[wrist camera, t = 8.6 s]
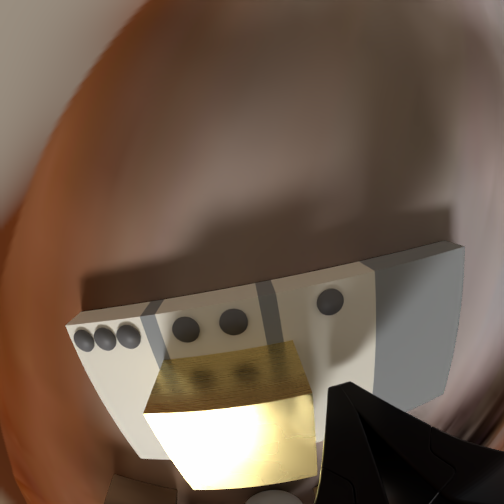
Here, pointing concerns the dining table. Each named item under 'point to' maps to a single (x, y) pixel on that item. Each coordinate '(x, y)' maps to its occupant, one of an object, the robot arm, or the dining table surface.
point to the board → (290, 333)
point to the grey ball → (274, 498)
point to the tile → (236, 417)
